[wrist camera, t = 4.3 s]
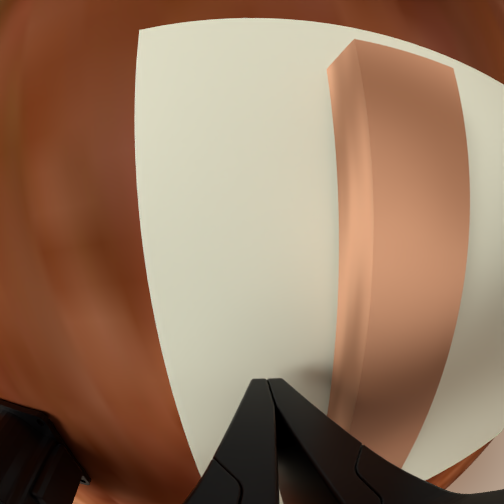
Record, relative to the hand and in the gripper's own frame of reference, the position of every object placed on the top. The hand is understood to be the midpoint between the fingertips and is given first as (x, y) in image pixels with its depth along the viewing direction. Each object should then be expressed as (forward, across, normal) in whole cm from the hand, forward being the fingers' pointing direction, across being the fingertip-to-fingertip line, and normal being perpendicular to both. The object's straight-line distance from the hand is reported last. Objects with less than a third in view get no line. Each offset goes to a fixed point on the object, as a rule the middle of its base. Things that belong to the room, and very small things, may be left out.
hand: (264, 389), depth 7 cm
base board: (+2, -10, +1) cm, 10 cm away
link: (+1, -4, +2) cm, 5 cm away
